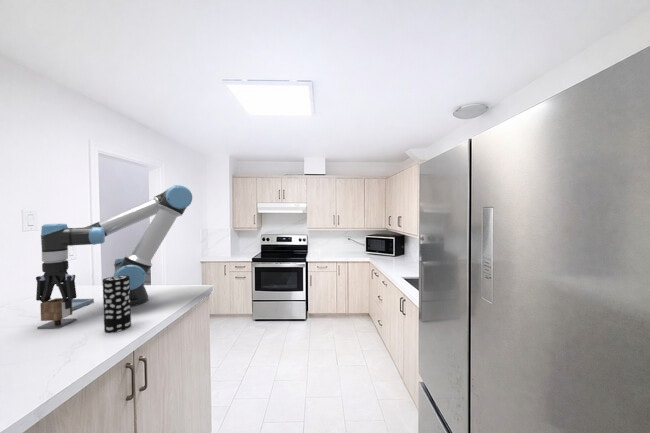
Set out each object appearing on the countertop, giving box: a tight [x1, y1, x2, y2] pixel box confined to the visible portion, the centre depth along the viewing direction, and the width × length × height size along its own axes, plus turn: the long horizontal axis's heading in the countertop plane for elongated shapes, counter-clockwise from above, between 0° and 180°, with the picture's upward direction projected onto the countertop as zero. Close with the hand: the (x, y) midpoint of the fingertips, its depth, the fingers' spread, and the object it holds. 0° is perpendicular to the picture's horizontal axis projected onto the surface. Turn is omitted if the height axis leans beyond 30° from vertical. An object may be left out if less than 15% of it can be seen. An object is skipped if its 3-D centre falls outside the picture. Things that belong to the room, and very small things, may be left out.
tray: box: [72, 298, 95, 312], centre depth 127 cm, size 13×13×2 cm
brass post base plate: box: [37, 317, 77, 330], centre depth 108 cm, size 8×8×8 cm
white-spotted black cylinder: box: [102, 275, 132, 334], centre depth 104 cm, size 8×8×20 cm
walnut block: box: [40, 297, 73, 322], centre depth 108 cm, size 6×6×7 cm
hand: (57, 316), depth 108 cm, fingers closed on walnut block, 6 cm apart
